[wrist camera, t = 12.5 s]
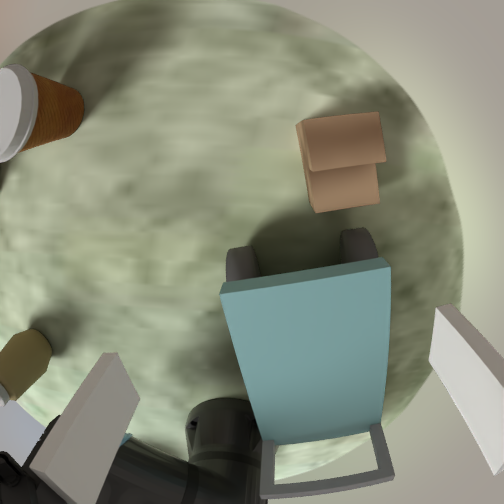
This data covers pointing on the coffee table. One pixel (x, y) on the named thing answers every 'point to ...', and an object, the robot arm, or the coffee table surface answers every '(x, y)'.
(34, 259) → the coffee table surface
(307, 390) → the trolley
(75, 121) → the disposable coffee cup
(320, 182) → the block
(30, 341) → the squeeze bottle
